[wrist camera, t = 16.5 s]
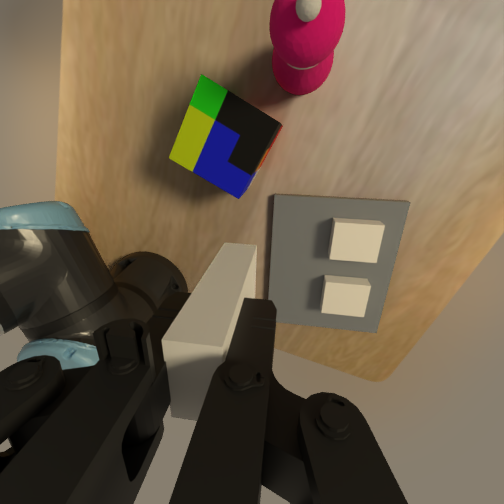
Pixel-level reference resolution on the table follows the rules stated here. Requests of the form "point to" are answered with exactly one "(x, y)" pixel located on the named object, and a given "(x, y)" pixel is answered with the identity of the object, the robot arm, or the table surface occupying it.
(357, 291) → the tile
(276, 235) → the slate board
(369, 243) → the tile
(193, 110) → the puzzle toy
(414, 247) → the table surface
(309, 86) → the pepper mill
